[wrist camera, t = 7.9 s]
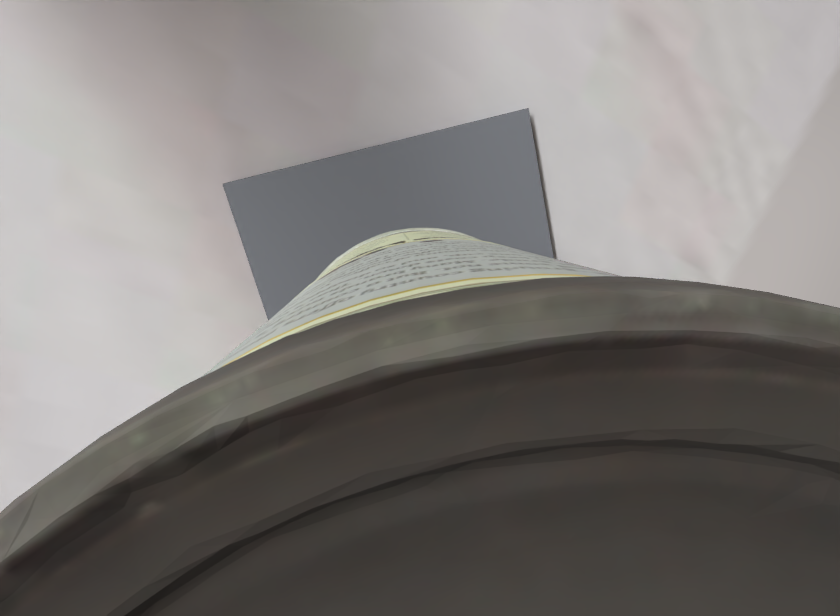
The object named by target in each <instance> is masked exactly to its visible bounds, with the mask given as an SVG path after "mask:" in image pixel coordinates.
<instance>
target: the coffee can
mask: <svg viewBox="0 0 840 616" xmlns="http://www.w3.org/2000/svg"><path fill="white" fill-rule="evenodd" d="M0 616H840V308H837V307H832V306H828V305H824V304H819V303H814V302H810V301H805V300H801V299H796V298H792V297H787V296H782V295H778V294H773V293H769V292H763V291H755V290H749V289H742V288H735V287H728V286H721V285H714V284H708V283H701V282H689V281H678V280H666V279H654V278H642V277H622V276H618V275H614V274H610V273H607V272H603V271H599V270H595V269H591V268H588V267H584V266H580V265H576V264H572V263H569V262H565V261H561V260H557V259H553V258H549V257H546V256H542V255H538V254H534V253H530V252H526V251H522V250H518V249H515V248H511V247H508V246H504V245H500V244H496V243H492V242H487V241H482V240H479V239H477V238H475V237H472V236H469V235H466V234H463V233H460V232H456V231H451V230H446V229H439V228H408V229H401V230H394V231H390V232H386V233H383V234H380V235H377V236H375V237H372V238H370V239H368V240H365V241H363V242H361V243H359V244H357V245H356V246H354V247H352V248H351V249H349V250H348V251H346V252H345V253H344V254H342V255H341V256H339V257H337V258H336V259H335V260H334V261H333V262H332V263H331V264H330V265H329V266H328V267H327V268H326V269H325V270H324V271H323V272H322V273H321V274H320V275H319V276H318V278H317V279H316V280H315V281H314V282H313V283H311V284H310V285H308V286H307V287H306V288H305V289H304V290H303V291H302V292H300V293H299V294H298V295H297V296H296V297H295V298H294V299H293V300H292V301H291V302H289V303H288V304H287V305H286V306H285V307H284V308H282V309H281V310H280V311H279V312H278V313H277V314H275V315H274V316H273V317H272V318H271V319H270V320H268V321H267V322H266V323H265V324H264V325H262V326H261V327H260V328H259V329H258V330H256V331H255V332H254V333H253V334H252V335H250V336H249V337H248V338H247V339H246V340H244V341H243V342H242V343H241V344H240V345H239V346H238V347H236V348H235V349H234V350H233V351H232V352H231V353H230V354H228V355H227V356H226V357H225V358H224V359H223V360H222V361H220V362H219V363H218V364H217V365H216V366H214V367H213V368H212V369H211V370H210V371H208V372H207V373H206V374H205V375H204V376H203V377H201V378H199V379H197V380H195V381H193V382H191V383H189V384H187V385H185V386H183V387H181V388H179V389H178V390H176V391H174V392H173V393H171V394H169V395H168V396H166V397H164V398H163V399H161V400H160V401H158V402H156V403H155V404H153V405H151V406H150V407H148V408H146V409H145V410H143V411H142V412H140V413H138V414H137V415H135V416H134V417H132V418H130V419H129V420H127V421H125V422H124V423H122V424H121V425H119V426H117V427H116V428H114V429H113V430H111V431H109V432H108V433H106V434H104V435H103V436H101V437H100V438H98V439H97V440H96V441H94V442H93V443H92V444H90V445H89V446H88V447H86V448H85V449H83V450H82V451H81V452H79V453H78V454H77V455H75V456H74V457H73V458H71V459H70V460H68V461H67V462H66V463H64V464H63V465H62V466H60V467H59V468H57V469H56V470H55V471H53V472H52V473H51V474H49V475H48V476H47V477H45V478H44V479H42V480H41V481H40V482H38V483H37V484H36V485H34V486H33V487H31V488H30V489H29V490H27V491H26V492H25V493H23V494H22V495H21V496H19V497H18V498H16V499H15V500H14V501H13V502H12V503H11V504H9V505H8V506H7V507H6V508H5V509H4V510H3V511H2V512H1V513H0Z"/></svg>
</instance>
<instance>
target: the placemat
mask: <svg viewBox="0 0 840 616" xmlns="http://www.w3.org/2000/svg"><path fill="white" fill-rule="evenodd" d="M223 187H224V190H225V193H226V196H227V199H228V202H229V205H230V208H231V211H232V214H233V217H234V219H235V222H236V225H237V228H238V231H239V234H240V237H241V240H242V243H243V246H244V249H245V252H246V255H247V258H248V261H249V264H250V267H251V270H252V273H253V276H254V279H255V282H256V285H257V288H258V291H259V294H260V297H261V300H262V303H263V306H264V309H265V312H266V315H267V318H268V320H270V319H271V318H272V317H273V316H274V315H275V314H277V313H278V312H279V311H280V310H281V309H282V308H284V307H285V306H286V305H287V304H288V303H289V302H291V301H292V300H293V299H294V298H295V297H296V296H297V295H298V294H299V293H300V292H302V291H303V290H304V289H305V288H306V287H307V286H308V285H310V284H311V283H313V282H314V281H315V280H316V279H317V278H318V276H319V275H320V274H321V273H322V272H323V271H324V270H325V269H326V268H327V267H328V266H329V265H330V264H331V263H332V262H333V261H334V260H335V259H336V258H337V257H339V256H341V255H342V254H344V253H345V252H346V251H348V250H349V249H351V248H352V247H354V246H356V245H357V244H359V243H361V242H363V241H365V240H368V239H370V238H372V237H375V236H377V235H380V234H383V233H386V232H390V231H394V230H401V229H408V228H439V229H446V230H451V231H456V232H460V233H463V234H466V235H469V236H472V237H475V238H477V239H479V240H482V241H487V242H492V243H496V244H500V245H504V246H508V247H511V248H515V249H518V250H522V251H526V252H530V253H534V254H538V255H542V256H546V257H549V258H553V259H554V257H553V251H552V245H551V239H550V233H549V227H548V221H547V215H546V209H545V203H544V198H543V192H542V186H541V180H540V174H539V168H538V162H537V156H536V150H535V144H534V139H533V133H532V127H531V121H530V115H529V109H528V108H527V109H523V110H519V111H515V112H511V113H507V114H503V115H499V116H495V117H491V118H487V119H483V120H479V121H474V122H470V123H466V124H462V125H458V126H454V127H450V128H446V129H442V130H438V131H434V132H430V133H426V134H422V135H418V136H414V137H410V138H406V139H402V140H398V141H394V142H390V143H386V144H382V145H378V146H374V147H369V148H365V149H361V150H357V151H353V152H349V153H345V154H341V155H337V156H333V157H329V158H325V159H321V160H317V161H313V162H309V163H305V164H301V165H297V166H293V167H289V168H285V169H281V170H277V171H273V172H269V173H265V174H260V175H256V176H252V177H248V178H244V179H240V180H236V181H232V182H228V183H224V184H223Z"/></svg>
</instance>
